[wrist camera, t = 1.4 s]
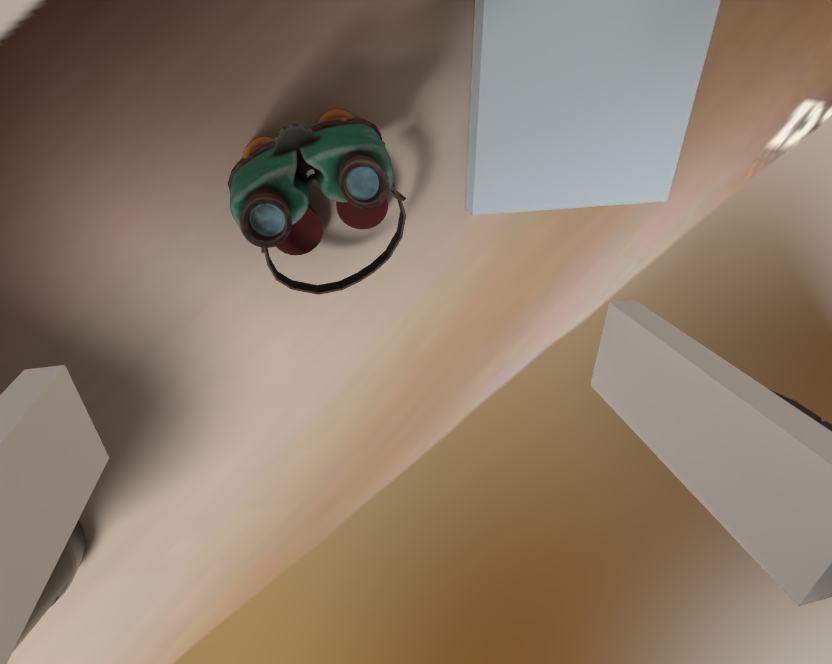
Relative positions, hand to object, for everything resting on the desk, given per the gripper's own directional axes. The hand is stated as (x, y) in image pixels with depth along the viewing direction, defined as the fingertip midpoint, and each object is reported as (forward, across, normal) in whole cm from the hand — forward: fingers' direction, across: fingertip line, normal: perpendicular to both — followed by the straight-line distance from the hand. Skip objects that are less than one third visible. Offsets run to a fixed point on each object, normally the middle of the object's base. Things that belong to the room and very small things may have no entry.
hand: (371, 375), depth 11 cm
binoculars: (+21, 0, 0) cm, 21 cm away
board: (+20, -17, -6) cm, 27 cm away
